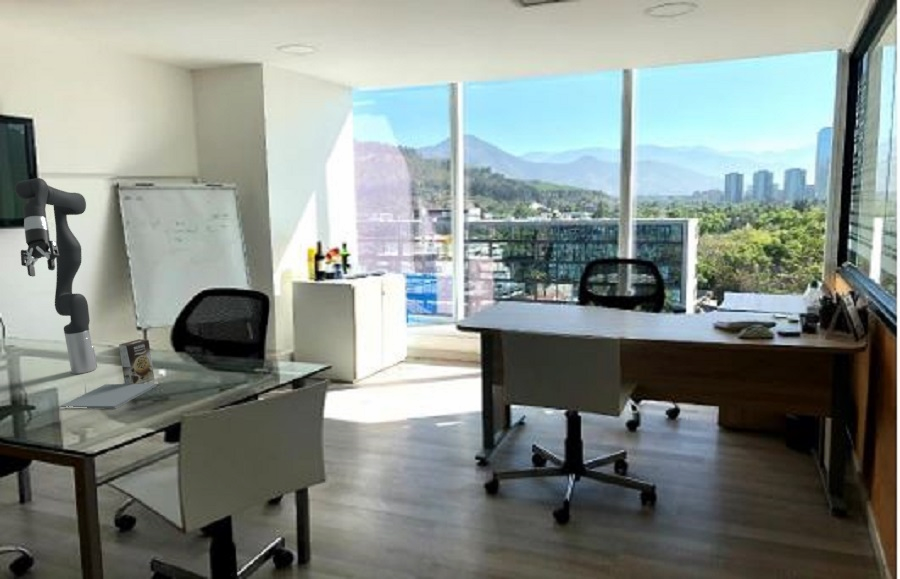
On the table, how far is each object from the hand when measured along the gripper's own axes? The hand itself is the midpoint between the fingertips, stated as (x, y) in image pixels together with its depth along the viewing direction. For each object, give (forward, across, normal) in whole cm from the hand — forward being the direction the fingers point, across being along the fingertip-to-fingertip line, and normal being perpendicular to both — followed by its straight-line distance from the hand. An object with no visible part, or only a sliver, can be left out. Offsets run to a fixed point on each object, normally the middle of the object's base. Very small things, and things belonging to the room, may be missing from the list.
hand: (41, 273), depth 248 cm
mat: (+48, -11, -13) cm, 51 cm away
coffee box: (+43, -11, -30) cm, 54 cm away
